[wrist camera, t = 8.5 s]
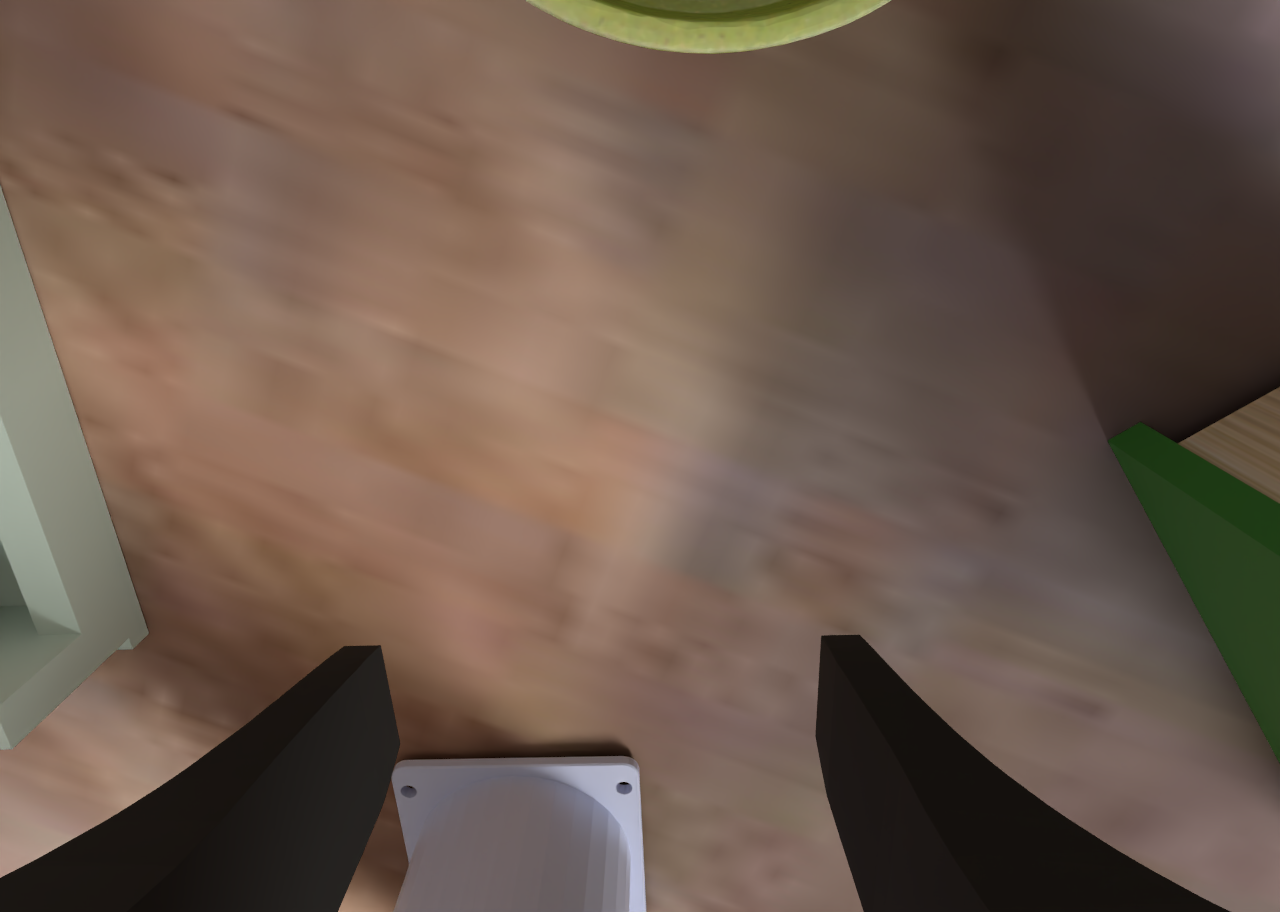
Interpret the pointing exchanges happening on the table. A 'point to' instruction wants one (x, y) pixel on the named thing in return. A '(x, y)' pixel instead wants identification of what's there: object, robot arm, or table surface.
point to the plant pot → (708, 21)
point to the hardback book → (1223, 535)
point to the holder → (49, 523)
